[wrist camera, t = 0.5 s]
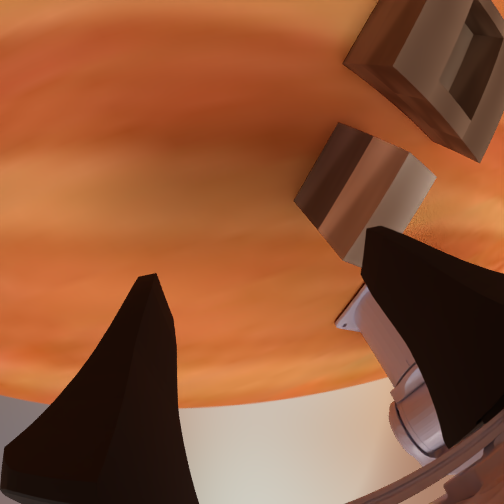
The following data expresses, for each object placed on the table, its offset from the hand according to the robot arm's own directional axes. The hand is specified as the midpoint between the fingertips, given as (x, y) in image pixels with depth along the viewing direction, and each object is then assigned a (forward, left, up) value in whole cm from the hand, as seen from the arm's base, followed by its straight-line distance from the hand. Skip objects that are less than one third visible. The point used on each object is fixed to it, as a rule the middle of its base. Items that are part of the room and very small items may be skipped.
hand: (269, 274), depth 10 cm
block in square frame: (-8, -15, -10) cm, 20 cm away
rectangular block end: (-6, -3, -10) cm, 12 cm away
